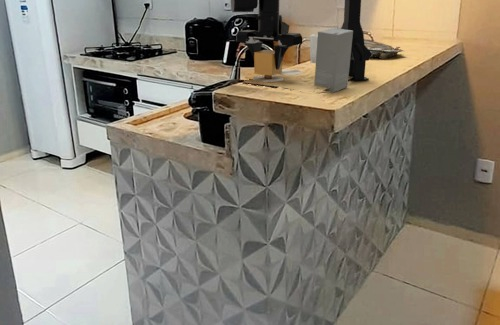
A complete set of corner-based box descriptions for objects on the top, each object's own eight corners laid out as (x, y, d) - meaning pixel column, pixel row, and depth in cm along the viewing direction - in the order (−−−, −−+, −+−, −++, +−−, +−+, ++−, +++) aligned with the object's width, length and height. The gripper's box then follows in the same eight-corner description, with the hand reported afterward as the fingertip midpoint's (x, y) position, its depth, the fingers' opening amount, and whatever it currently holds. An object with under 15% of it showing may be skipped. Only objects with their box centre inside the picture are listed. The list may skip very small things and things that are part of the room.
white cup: (330, 66, 168) (332, 36, 165) (307, 65, 170) (309, 36, 166) (331, 62, 175) (333, 34, 172) (309, 62, 177) (311, 33, 173)
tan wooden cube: (281, 72, 142) (282, 51, 140) (271, 75, 137) (272, 54, 135) (264, 70, 145) (264, 49, 143) (254, 73, 140) (254, 52, 138)
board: (311, 75, 153) (311, 71, 152) (276, 88, 135) (276, 83, 135) (280, 72, 158) (280, 68, 158) (242, 83, 141) (242, 79, 140)
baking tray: (413, 56, 194) (415, 42, 192) (391, 62, 177) (393, 47, 176) (345, 49, 211) (346, 36, 209) (319, 54, 194) (320, 40, 193)
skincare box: (328, 84, 140) (331, 27, 134) (350, 88, 135) (355, 29, 130) (312, 89, 133) (314, 30, 128) (335, 93, 129) (339, 31, 124)
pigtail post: (273, 78, 142) (273, 64, 141) (269, 79, 140) (269, 65, 139) (266, 77, 143) (266, 64, 142) (262, 79, 141) (262, 65, 140)
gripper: (312, 11, 137) (310, 67, 142) (255, 9, 146) (255, 61, 152) (293, 13, 128) (291, 73, 133) (234, 11, 137) (235, 67, 143)
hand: (268, 68), depth 141 cm, fingers closed on tan wooden cube, 6 cm apart
